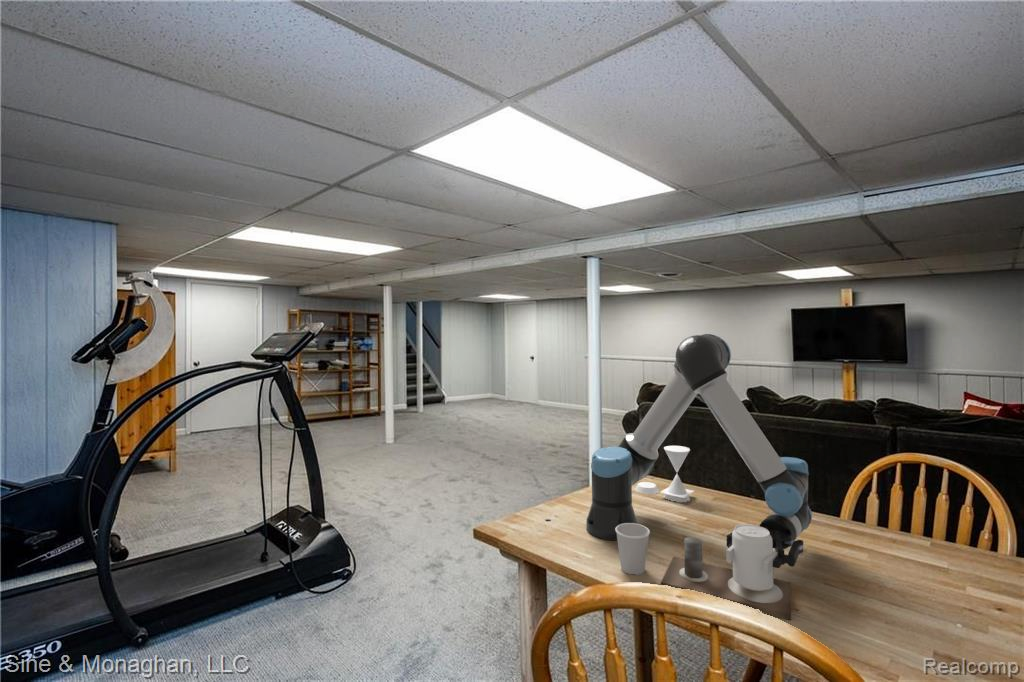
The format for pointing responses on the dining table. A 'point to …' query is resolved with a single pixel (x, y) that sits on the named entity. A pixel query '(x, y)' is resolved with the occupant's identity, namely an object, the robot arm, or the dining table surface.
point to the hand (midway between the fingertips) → (746, 562)
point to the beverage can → (751, 556)
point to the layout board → (724, 582)
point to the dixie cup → (632, 547)
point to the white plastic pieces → (676, 488)
